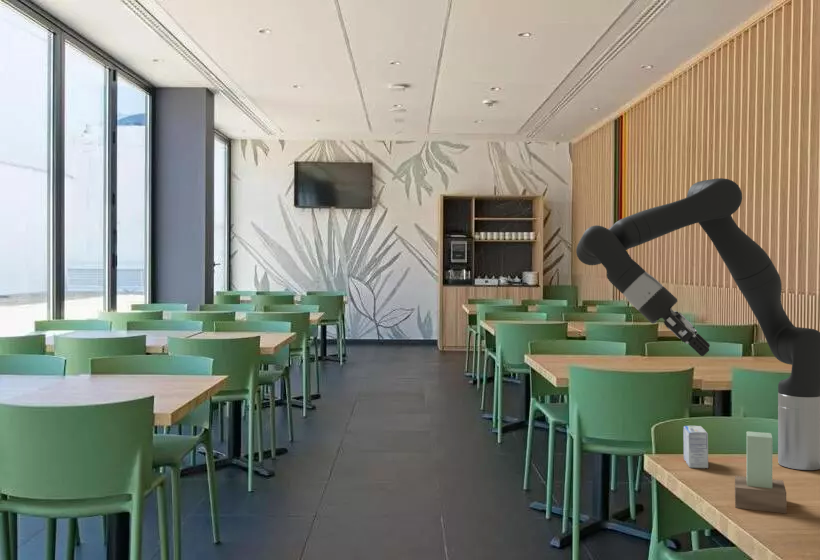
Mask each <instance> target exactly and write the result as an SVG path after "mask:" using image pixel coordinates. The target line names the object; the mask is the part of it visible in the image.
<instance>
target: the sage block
mask: <svg viewBox="0 0 820 560" xmlns="http://www.w3.org/2000/svg"><path fill="white" fill-rule="evenodd" d="M746 477H747V486H753V487H763V488H772V479H773V435H772V433H771V432H758V431H746Z"/></svg>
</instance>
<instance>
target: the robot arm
mask: <svg viewBox="0 0 820 560" xmlns="http://www.w3.org/2000/svg"><path fill="white" fill-rule="evenodd" d="M689 187H690V188H689V189H688V191H687V194H686V197H684V198H681V199H678V200H676V201H674V202H673V201H672V202H669V203H666V204H661V205H658V206H655V207H650V208H647V209H644V210H641V211H639V212H636V213H633V214H631V215H628V216H626V217H623V218H620V219H619V220H617V221H616V222H615V223H613V224H612V226H611V227H609V228H606V227H604V226H602V225H591V226H589V227H588V228H587V229H585V231H584V232H583V234H582V236H581V237H580V239H579V241H578V243H577V245H576V249H575V250H576V251H575V252H576V257H577V259H578V260H579V261H580V262H581V263H582V264H584V265H588V266H598V265H600V264H601V265H602V266H603V267H604V268H605V270H606V278H607V280H608V281H609V282H610V284H611V285H612V286H614V288H616V289H617V290H618V291H619V292H620V293H621V294H622V295H623V296H624V297H625V298H626V300H627V302H629V304H631V305H632V306H633V308H635V309H636V310H637V311H638V312H639V313H640V314H641V315H642V316H644V318H646V320H647V321H648V322H650V323H651V324H655V323H656V322H658V321H659V320H660V319H662V320H663V324H664V325H665V327H666V328H667V329H668V330H669V331H670V332H672V333H673V335H675V336H676V338H678V339H680V340H681V342H683V343H685V344H686V345H689V346H690V347H691V348H692V349H693V350H694V351H695V352H696V353H697V354H698V355H699V356H700V357H704V356H705V355H706V354H707V353H708V352H710V346H711V345H710V343H709V342H708V341H707V340H706V339H705V338H704V337H703V336H702V335H700V333H698V330H697V329H696V328H695V326H693V324H692V323H691V322H690V321H689V320H688V319H687V318H686V317H685V315H683V314H682V313H681V312H679V311H678V310H673V309H672V308H673V307H674V306H675V305H676V304H677V303H678V298H676V296H674V295H673V293H671V292H670V291H669V290H668V289H667V288H666V287H665V286H664V285H663V284H661V282H659V281H658V279H656V278H655V276H653V275H651V274H650V273H648V272H647V270H645V269H644V268H643V267H642V266H641V265H640V264H639V263H637V261H636V260H634V259H633V258H632V257H631V255H630V254H629V252H628V250H629V249H632V248H635V247H637V246H641V245H643V244H646V243H648V242H651V241H653V240H655V239H657V238H660V237H662V236H665V235H667V234H670V233H672V232H675V231H677V230H680V229H683V228H685V227H688V226H692V225H695V224H699V226H700V227H701V228H702V230H703V231H704V232H705V234H706V235H707V236H708V238H709V239H710V241H711V243H712V244H713V246H714V247H715V249H716V250H717V253H718V254H719V256H720V258H721V259H722V261H723V263H724V264H725V266H726V267H727V269H728V272H729V273H730V275H731V277H732V279H733V281H734V282H735V284H736V285H737V288H738V289H739V291H740V292H741V294H742V296H743V297H744V299H745V300H746V302H747V305H749V307H750V310H751V311H752V314H753V315H754V317H755V318H756V320H757V322H758V324H759V326H760V328H761V331H762V333H763V336H764V338H765V340H766V342H767V345H768V347H769V348H770V351H771V353H772V355H773V356H774V357H775V358H776V359H777V360H778V361H779V362H781V363H784V364H787V365H790V366H791V373H790V375H789V376H788V377H787V378H784V379H781V380H779V382H778V385H777V405H778V407H777V411H778V412H777V413H778V414H777V428H778V429H777V442H778V443H777V463H779V464H778V465H780V466H782V467H785V468H789V469H794V470H802V471H815V470H820V331H819V330H817V329H816V328H815V329H814V328H809V327H800V326H795V325H794V324H793V322H792V321H791V320H790V318H789V316H788V315H787V313H786V311H785V310H784V307H783V304H782V281H781V280H782V279H781V277H780V274H779V272H778V270H777V268H776V266H775V265H774V262H773V261H772V259H771V258H770V256H769V255H768V253H767V252H766V251H765V250H764V249H763V248H762V247H761V246H760V245H759V244H758V243H757V242H756V241H755V240H754V239H752V238H751V237H750V236H749V235H748V234H747V233H745V232H744V231H743V230H742V229H741V228H740V227H739V226H738V224H737V223H736V221H735V220H734V218H733V217H732V215H734V214H735V213H736V211H737V210H739V208H740V207H741V205H742V201H743V193H742V190H741V188H740V186H739V184H737V183H736V182H735V181H734V180H732V179H729V178H724V177H723V178H722V177H720V178H712V179H704V180H699V181H697V182H694V183H693V184H692V185H691V186H689Z"/></svg>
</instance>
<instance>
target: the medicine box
mask: <svg viewBox="0 0 820 560" xmlns="http://www.w3.org/2000/svg"><path fill="white" fill-rule="evenodd" d="M682 431H683V432H682V433H683V434H682V435H683V460H684V461H686V462H685V463H686V465H687V466H688V467H689V469H705V468H707V469H708V468H709V433H708V432H707V431H706V429H704V428H703V427H702V425H684V426H683V430H682Z"/></svg>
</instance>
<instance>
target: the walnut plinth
mask: <svg viewBox="0 0 820 560" xmlns="http://www.w3.org/2000/svg"><path fill="white" fill-rule="evenodd" d="M734 501H735V502H734V503H735V505H734V506H735V508H738V509H745V510H746V509H747V510H753V511H761V512H762V511H763V512H769V513H770V512H771V513H778V514H779V513H781V514H787V490H786V486H785V483H784V479H783V480H782V479H773V478H772V488H763V487H753V486H747V476H742V475H741V476H740V475H734Z"/></svg>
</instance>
